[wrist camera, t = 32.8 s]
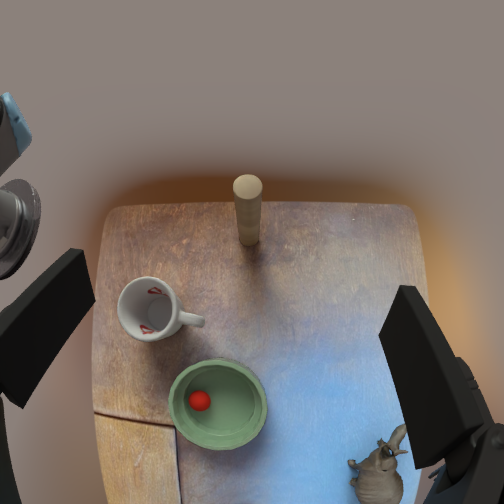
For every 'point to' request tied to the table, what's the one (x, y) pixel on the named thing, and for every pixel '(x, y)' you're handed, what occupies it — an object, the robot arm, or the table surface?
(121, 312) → the cup
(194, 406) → the cherry tomato
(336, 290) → the table surface
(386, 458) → the grey animal figure
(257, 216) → the tan wooden cylinder
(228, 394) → the bowl
